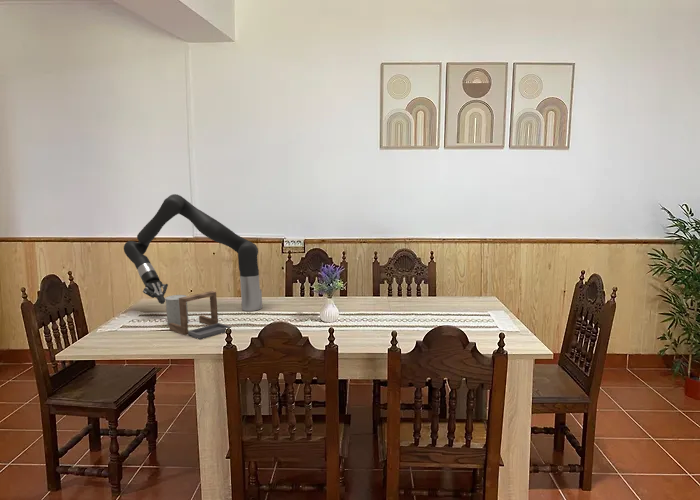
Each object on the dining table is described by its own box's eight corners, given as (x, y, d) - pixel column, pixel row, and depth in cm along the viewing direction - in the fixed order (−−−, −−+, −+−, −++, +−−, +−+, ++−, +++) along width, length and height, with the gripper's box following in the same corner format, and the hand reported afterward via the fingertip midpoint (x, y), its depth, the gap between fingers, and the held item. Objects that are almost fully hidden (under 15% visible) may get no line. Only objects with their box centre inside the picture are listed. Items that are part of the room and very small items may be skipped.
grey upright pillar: (167, 326, 285) (165, 300, 283) (167, 321, 294) (165, 295, 292) (188, 324, 287) (186, 298, 285) (188, 319, 296) (186, 294, 294)
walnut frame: (202, 321, 292) (199, 288, 289) (218, 326, 283) (216, 291, 280) (169, 329, 280) (166, 294, 277) (185, 335, 271) (182, 299, 268)
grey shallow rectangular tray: (219, 327, 282) (219, 322, 281) (231, 330, 275) (230, 326, 275) (188, 335, 270) (187, 331, 270) (199, 339, 264) (199, 335, 264)
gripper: (137, 271, 298) (152, 300, 291) (162, 267, 307) (178, 295, 300) (133, 281, 302) (148, 310, 296) (158, 276, 312) (173, 304, 305)
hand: (163, 302), depth 298 cm, fingers closed
